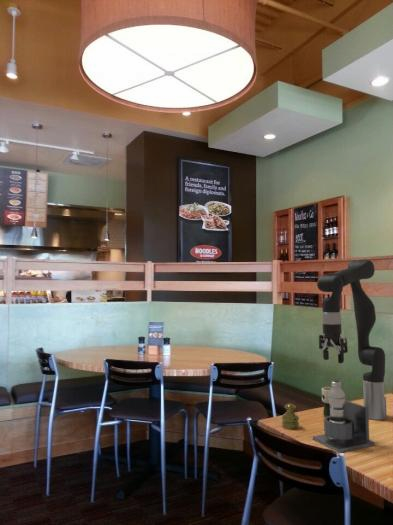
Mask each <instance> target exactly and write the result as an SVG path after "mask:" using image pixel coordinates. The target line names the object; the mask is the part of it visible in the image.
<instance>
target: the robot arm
mask: <svg viewBox="0 0 393 525" xmlns="http://www.w3.org/2000/svg"><path fill="white" fill-rule="evenodd" d="M375 271H376V270H375V265H374V263H373V261H372V260H370V259H357V260H350V261H349V262H348V264H347V268H344V269H341V270H339V271H336V272H333V273H329V274H328V273H327V274H324V275H321V276H320V277H319V278H318V279H317V282H316V287H317V289H318V290H319V291H321V292H322V293H331V295H330V296H329V297H325V298H323V299H322V321H321V322H322V333H323V334H319V336H318V348H319V349H321V350H322V356H323V357H322V358H323V360H324V361H328V360H329V358H330V357H329V356H330V354H329V349H330V347H331V348H334V350H335V351H336V352H337V363H338V364H344V361H345V357H344V355H345V354H348V350H349V349H348V339H347V338H346V337H342V338H341V334H342V316H341V306H340V305H341V304H340V302H341V297H342V292H343V289H344V287H346V286H348V285H350V288H351V293H352V301H353V311H354V317H355V318H354V319H355V325H356V331H357V332H356V333H357V334H356V335H357V353H358V354H357V356H358V360H359V362H360V364H362V365H365V366H369V367H371V371H369V372H365V373H363V374H362V388H363V389H362V391H363V392H362V393H363V394H362V395H363V406H364V407H367V408H368V416H369V420H373V421H382V420H385V419H386V418H387V417H388V416H387V397H386V396H385V373H386V353H385V350H384V349H383V348H382V347H377V346H370V334H371V331H372V330H373V327H374V326H375V323H376V320H377V317H376V316H377V315H376V307H375V305H374V302H373V301H372V300H371V299H370V297H369V296H368V294H367V293H366V292H365V291H364V289H363V287H362V283H361V280H368V279H371V278H372V277H373V276H374V275H375Z"/></svg>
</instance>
